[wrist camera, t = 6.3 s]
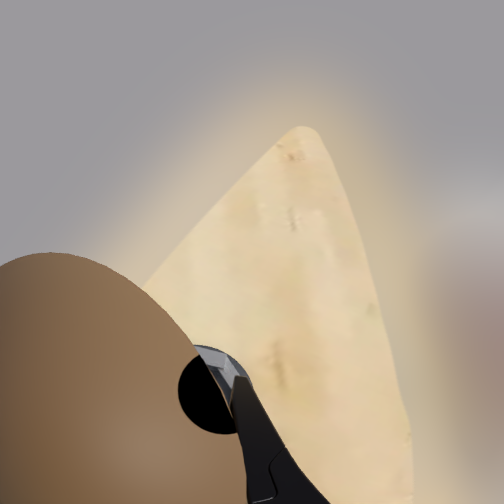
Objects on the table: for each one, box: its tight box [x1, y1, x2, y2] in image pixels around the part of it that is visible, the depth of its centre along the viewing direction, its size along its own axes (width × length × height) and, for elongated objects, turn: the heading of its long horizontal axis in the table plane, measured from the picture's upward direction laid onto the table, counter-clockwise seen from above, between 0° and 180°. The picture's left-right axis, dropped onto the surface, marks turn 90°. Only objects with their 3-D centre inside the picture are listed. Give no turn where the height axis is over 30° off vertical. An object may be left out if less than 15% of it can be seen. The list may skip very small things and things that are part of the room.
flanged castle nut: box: [193, 345, 253, 406], centre depth 17 cm, size 9×9×5 cm
